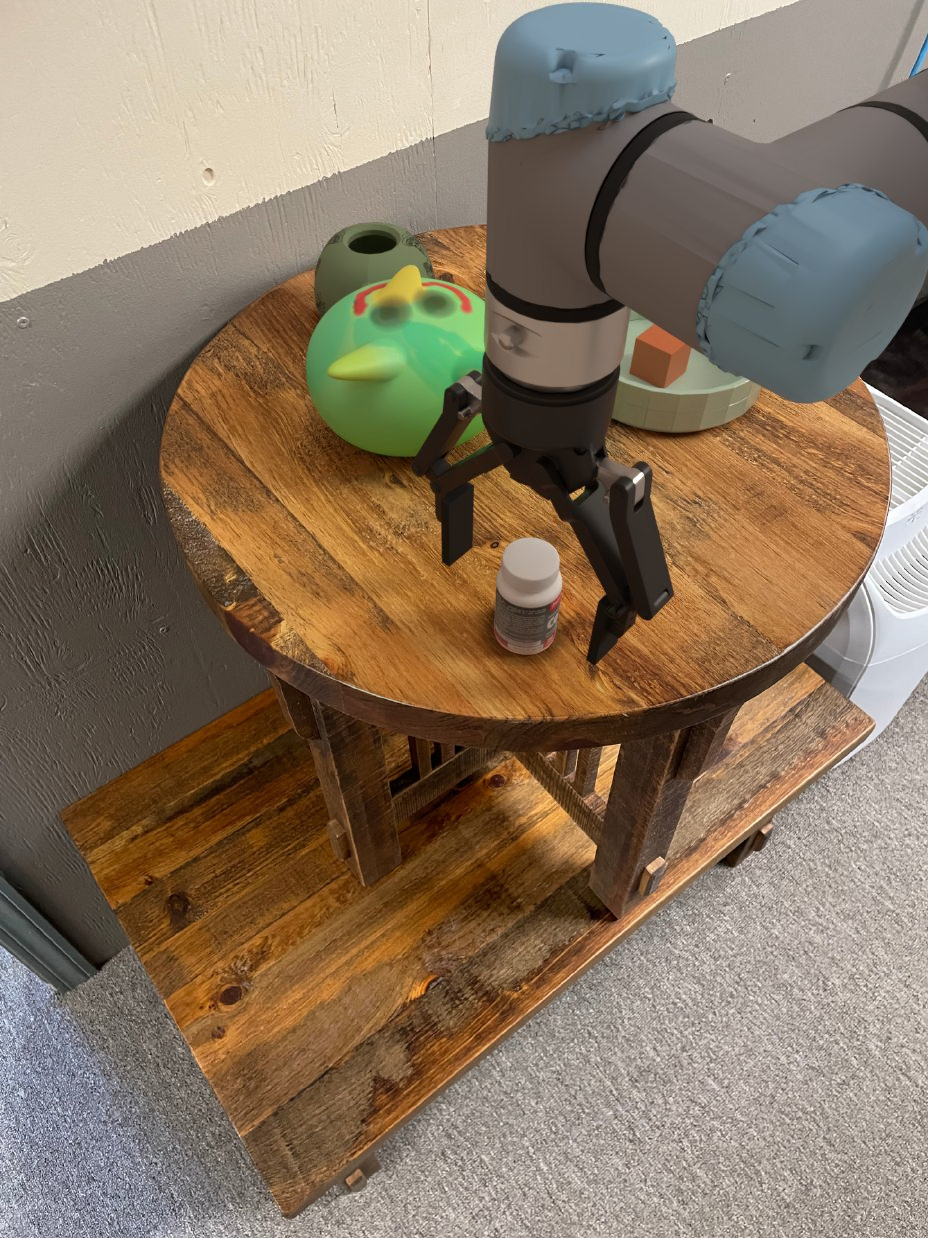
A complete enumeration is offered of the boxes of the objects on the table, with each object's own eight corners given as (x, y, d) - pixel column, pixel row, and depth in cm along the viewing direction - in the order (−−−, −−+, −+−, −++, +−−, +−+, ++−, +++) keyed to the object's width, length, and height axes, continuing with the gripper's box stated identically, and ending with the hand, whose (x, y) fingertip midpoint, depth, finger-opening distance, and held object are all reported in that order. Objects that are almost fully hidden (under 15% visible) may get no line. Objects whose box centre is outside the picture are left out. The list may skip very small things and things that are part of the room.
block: (685, 371, 85) (694, 335, 82) (663, 390, 83) (671, 354, 80) (652, 354, 86) (659, 319, 83) (629, 373, 85) (635, 337, 81)
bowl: (795, 369, 86) (811, 325, 82) (692, 467, 78) (704, 423, 74) (636, 297, 94) (644, 254, 90) (525, 379, 85) (529, 334, 81)
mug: (325, 282, 96) (315, 204, 89) (441, 285, 96) (440, 207, 89) (304, 370, 86) (291, 291, 79) (434, 373, 86) (432, 294, 79)
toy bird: (487, 368, 86) (492, 224, 75) (532, 482, 76) (546, 337, 65) (307, 392, 84) (283, 247, 72) (329, 513, 74) (305, 368, 62)
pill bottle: (557, 657, 65) (568, 584, 58) (494, 656, 65) (497, 584, 58) (553, 607, 68) (563, 533, 61) (493, 607, 68) (496, 533, 61)
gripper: (341, 295, 50) (370, 544, 67) (716, 499, 40) (638, 733, 57) (429, 244, 53) (436, 494, 70) (795, 421, 43) (699, 662, 60)
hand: (526, 601), depth 63 cm, fingers open, 13 cm apart
